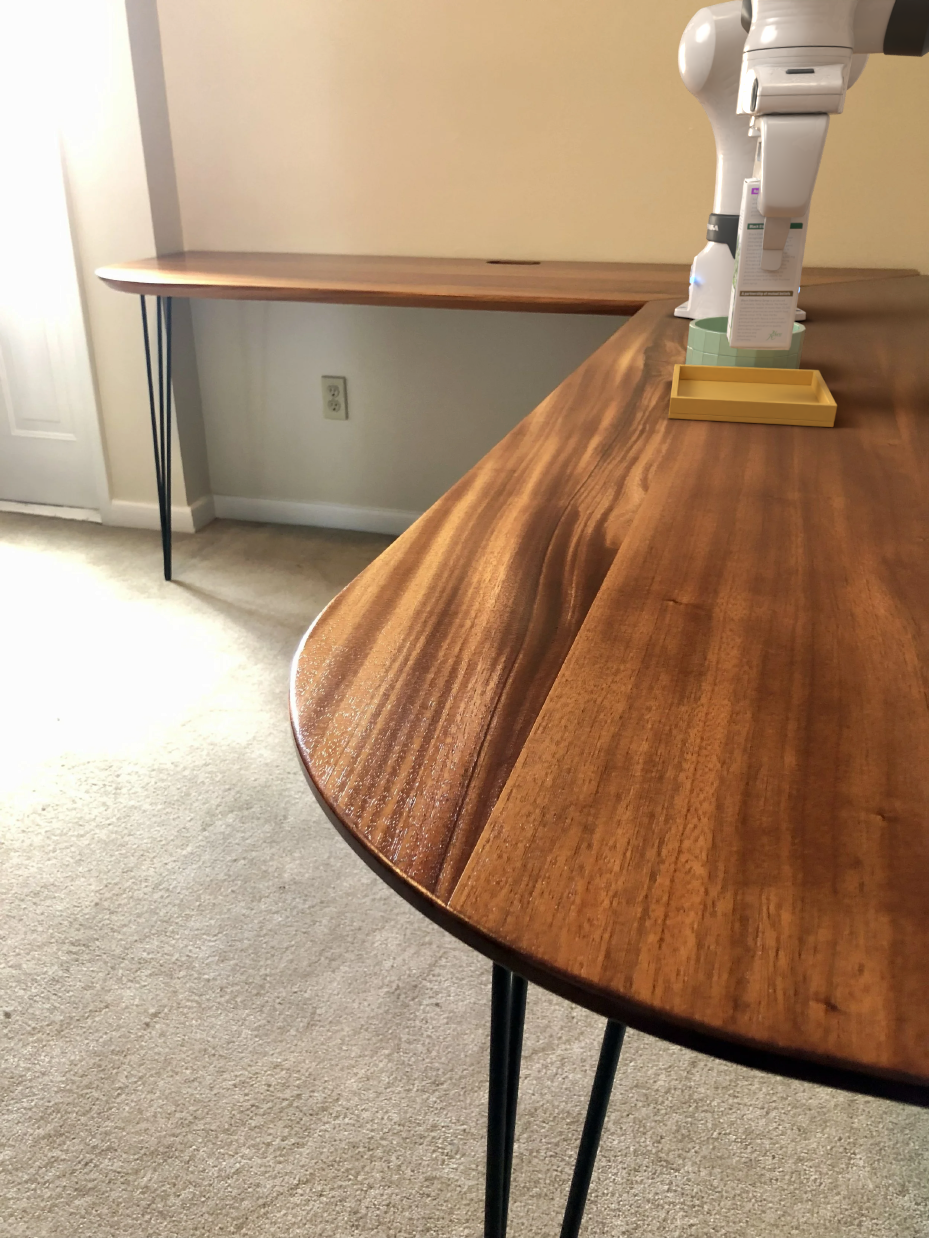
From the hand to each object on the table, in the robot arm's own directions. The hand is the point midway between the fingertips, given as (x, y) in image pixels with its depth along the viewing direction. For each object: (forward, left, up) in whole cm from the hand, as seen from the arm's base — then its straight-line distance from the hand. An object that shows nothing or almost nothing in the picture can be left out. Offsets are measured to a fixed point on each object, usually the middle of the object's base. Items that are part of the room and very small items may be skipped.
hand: (766, 265), depth 82 cm
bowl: (-15, 0, -13) cm, 20 cm away
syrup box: (0, 0, -7) cm, 7 cm away
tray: (0, 0, -13) cm, 13 cm away
